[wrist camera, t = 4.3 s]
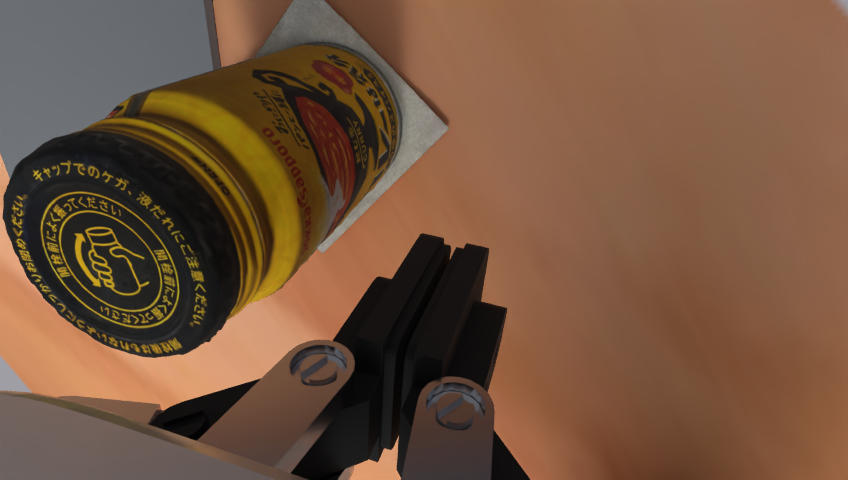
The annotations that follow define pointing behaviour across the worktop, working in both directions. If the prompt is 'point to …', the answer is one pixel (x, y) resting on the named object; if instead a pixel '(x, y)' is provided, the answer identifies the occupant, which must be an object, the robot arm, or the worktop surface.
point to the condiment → (214, 185)
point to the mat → (91, 61)
